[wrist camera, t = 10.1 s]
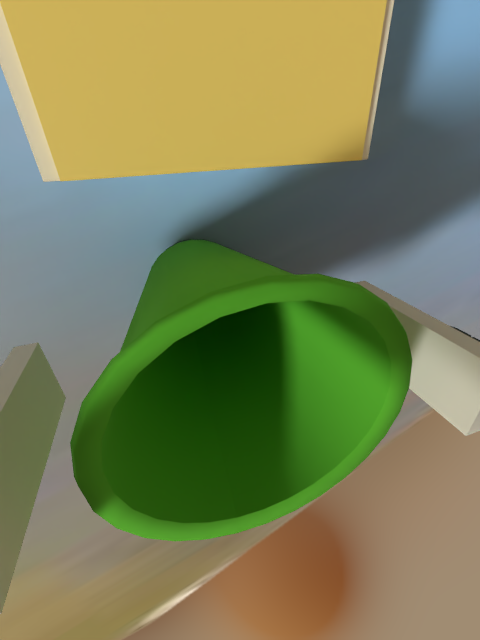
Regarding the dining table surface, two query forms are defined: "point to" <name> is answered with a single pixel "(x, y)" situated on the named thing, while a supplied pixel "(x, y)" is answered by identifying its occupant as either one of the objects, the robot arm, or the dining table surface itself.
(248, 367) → the cup
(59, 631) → the dining table surface
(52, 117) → the box
